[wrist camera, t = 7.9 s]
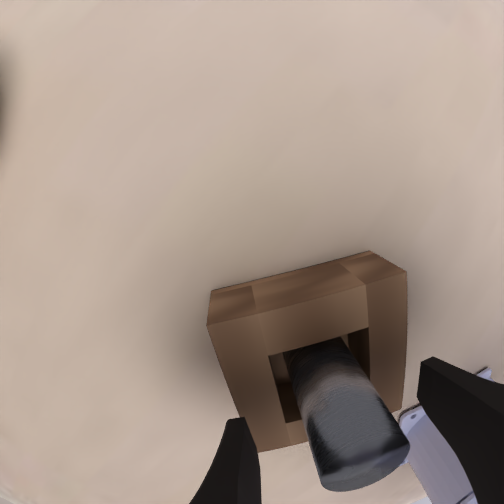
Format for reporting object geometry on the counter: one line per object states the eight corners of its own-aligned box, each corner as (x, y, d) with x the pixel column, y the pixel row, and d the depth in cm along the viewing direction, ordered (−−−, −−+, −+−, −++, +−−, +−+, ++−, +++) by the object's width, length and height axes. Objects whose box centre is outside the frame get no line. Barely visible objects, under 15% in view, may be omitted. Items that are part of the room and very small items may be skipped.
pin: (334, 311, 14) (415, 421, 6) (340, 358, 15) (404, 469, 7) (276, 328, 14) (316, 459, 6) (287, 374, 15) (324, 499, 7)
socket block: (370, 250, 14) (406, 271, 11) (376, 373, 16) (401, 408, 13) (211, 290, 14) (206, 325, 11) (249, 409, 16) (254, 453, 13)
